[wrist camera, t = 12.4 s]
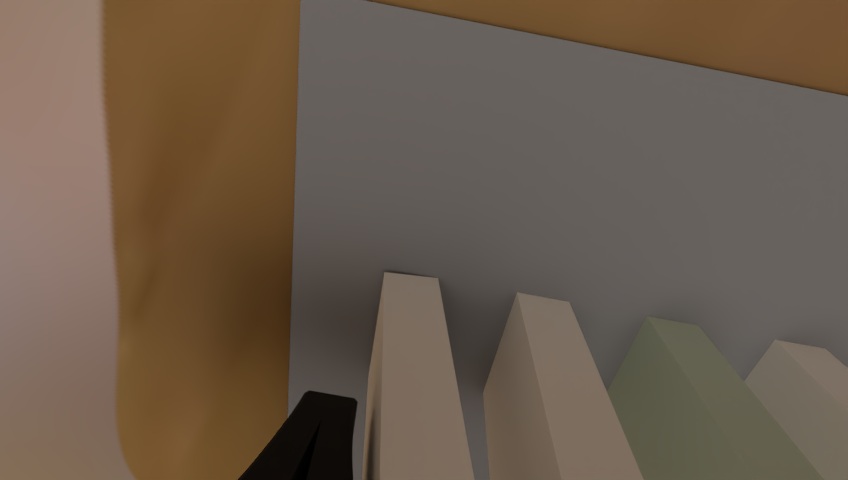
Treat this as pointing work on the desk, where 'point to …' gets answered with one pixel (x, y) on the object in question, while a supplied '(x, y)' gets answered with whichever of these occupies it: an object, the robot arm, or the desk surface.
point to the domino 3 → (807, 402)
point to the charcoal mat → (552, 197)
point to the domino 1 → (413, 389)
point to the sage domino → (697, 412)
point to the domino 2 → (550, 402)
